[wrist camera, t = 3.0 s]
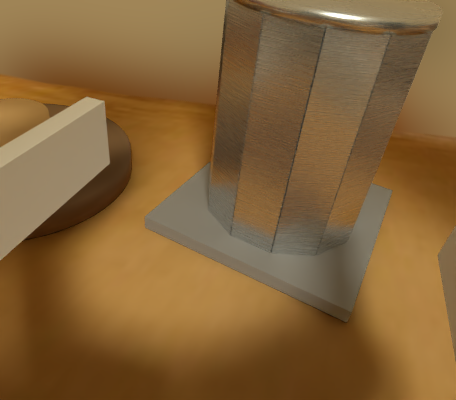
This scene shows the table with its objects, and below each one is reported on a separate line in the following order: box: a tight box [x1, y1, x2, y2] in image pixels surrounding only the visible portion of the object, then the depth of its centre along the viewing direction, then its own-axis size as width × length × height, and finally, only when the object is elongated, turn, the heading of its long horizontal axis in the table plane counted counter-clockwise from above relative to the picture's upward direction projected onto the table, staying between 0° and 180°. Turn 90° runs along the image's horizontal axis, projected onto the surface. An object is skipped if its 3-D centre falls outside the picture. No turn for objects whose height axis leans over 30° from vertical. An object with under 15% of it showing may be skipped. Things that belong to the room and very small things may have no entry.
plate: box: [24, 104, 132, 240], centre depth 25 cm, size 14×14×2 cm
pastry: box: [0, 98, 50, 147], centre depth 24 cm, size 4×4×2 cm
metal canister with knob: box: [208, 0, 443, 256], centre depth 21 cm, size 9×9×13 cm
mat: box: [145, 161, 392, 323], centre depth 25 cm, size 12×12×1 cm
